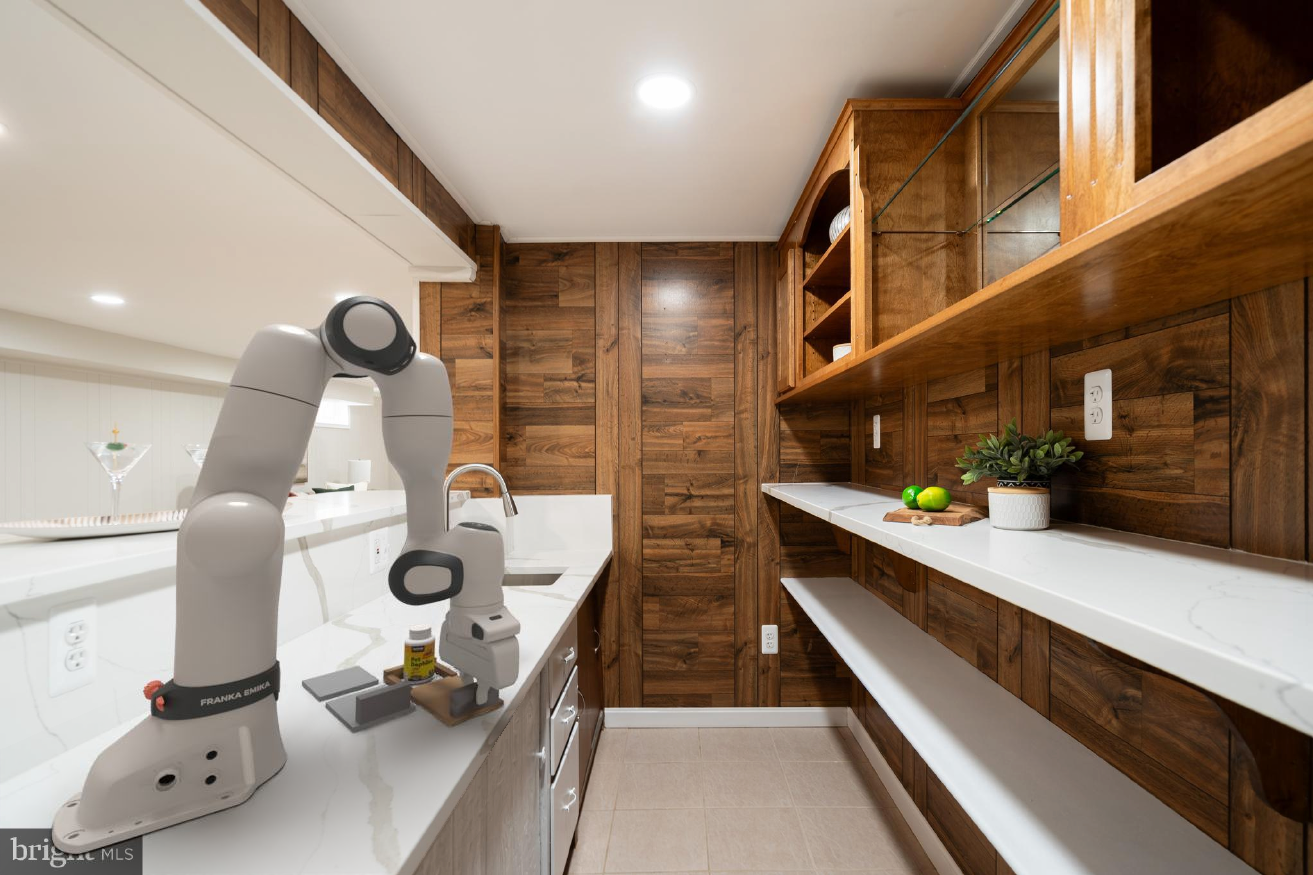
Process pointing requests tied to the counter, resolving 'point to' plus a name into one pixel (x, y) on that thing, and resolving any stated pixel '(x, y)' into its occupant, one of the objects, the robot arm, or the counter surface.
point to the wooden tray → (446, 695)
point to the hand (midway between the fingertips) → (475, 699)
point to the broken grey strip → (345, 687)
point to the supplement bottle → (419, 655)
